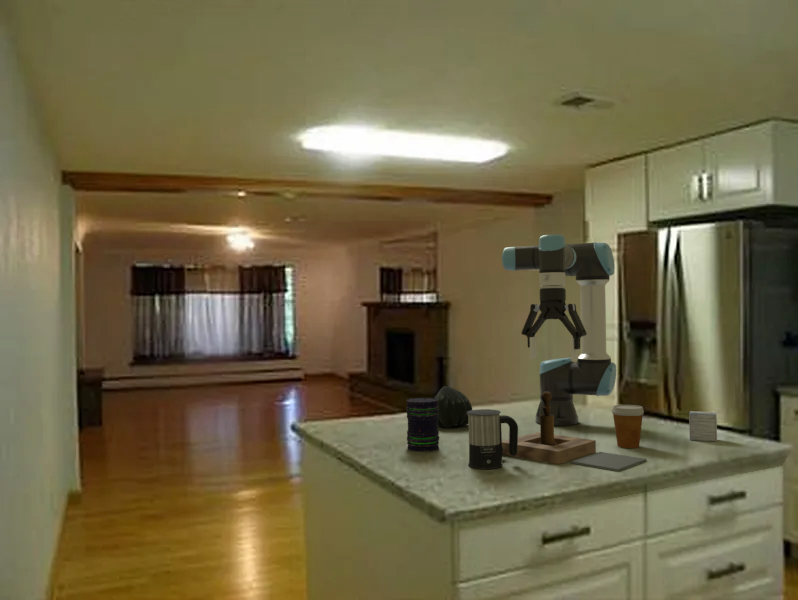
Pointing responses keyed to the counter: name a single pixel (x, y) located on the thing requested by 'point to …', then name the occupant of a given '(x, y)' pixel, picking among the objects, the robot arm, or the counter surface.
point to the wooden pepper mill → (547, 422)
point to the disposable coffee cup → (628, 425)
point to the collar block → (551, 448)
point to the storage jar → (422, 424)
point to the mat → (608, 461)
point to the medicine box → (703, 426)
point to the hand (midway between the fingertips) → (553, 359)
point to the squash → (452, 407)
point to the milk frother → (489, 438)
